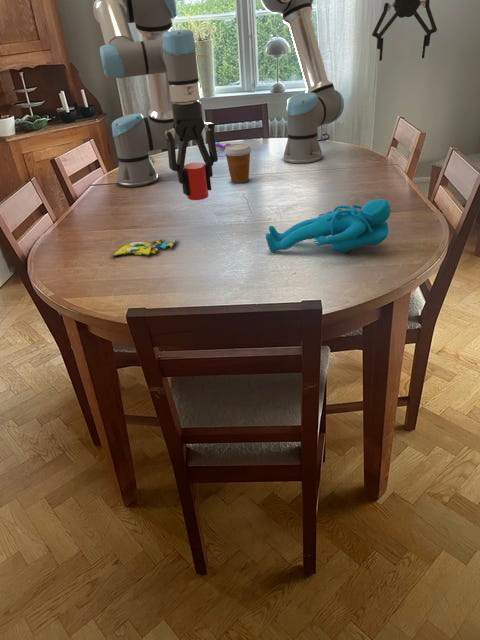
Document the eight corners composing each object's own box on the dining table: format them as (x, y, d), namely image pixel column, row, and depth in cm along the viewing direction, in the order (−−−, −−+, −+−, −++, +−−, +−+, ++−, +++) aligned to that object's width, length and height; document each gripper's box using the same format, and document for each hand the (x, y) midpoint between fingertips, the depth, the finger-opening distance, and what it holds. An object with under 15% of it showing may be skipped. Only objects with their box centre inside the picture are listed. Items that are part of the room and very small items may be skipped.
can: (183, 198, 134) (178, 167, 129) (198, 191, 138) (194, 161, 133) (197, 201, 131) (193, 170, 126) (212, 195, 134) (209, 164, 129)
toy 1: (167, 253, 124) (112, 254, 126) (167, 256, 124) (112, 257, 126) (176, 237, 132) (124, 238, 134) (176, 240, 133) (125, 241, 135)
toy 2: (270, 213, 128) (386, 185, 117) (281, 248, 133) (393, 225, 122) (259, 239, 114) (389, 210, 104) (272, 277, 119) (397, 254, 109)
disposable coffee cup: (222, 184, 172) (219, 149, 166) (233, 176, 180) (230, 142, 173) (247, 185, 169) (245, 150, 163) (256, 177, 176) (254, 143, 170)
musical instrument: (233, 161, 200) (257, 143, 213) (232, 156, 199) (256, 138, 211) (189, 161, 213) (214, 143, 225) (188, 156, 212) (212, 139, 224)
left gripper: (155, 109, 114) (170, 203, 127) (226, 97, 121) (233, 187, 134) (145, 105, 120) (160, 195, 133) (213, 94, 127) (221, 181, 139)
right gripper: (366, -14, 151) (362, 62, 163) (452, -23, 144) (441, 57, 156) (368, -14, 157) (364, 59, 168) (450, -22, 150) (440, 55, 162)
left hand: (197, 191), depth 133 cm, fingers closed on can, 6 cm apart
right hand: (401, 59), depth 162 cm, fingers open, 13 cm apart
